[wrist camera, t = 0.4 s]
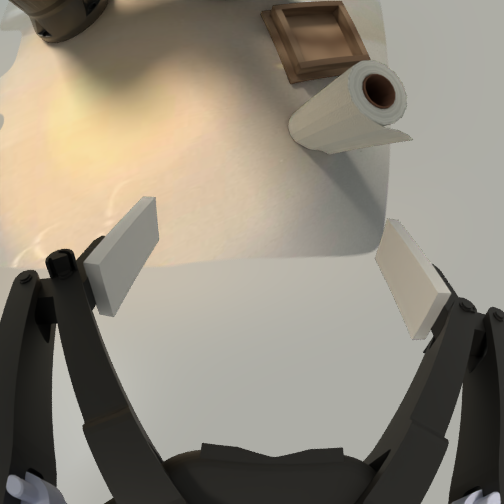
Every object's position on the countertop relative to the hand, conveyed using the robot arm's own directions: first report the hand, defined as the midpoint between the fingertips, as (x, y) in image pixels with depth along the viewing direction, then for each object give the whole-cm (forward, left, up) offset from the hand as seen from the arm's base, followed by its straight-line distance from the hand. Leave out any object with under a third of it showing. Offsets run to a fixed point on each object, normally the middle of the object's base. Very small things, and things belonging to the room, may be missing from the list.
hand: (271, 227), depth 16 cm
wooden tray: (-21, +20, -27) cm, 40 cm away
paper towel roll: (-6, +13, -27) cm, 31 cm away
